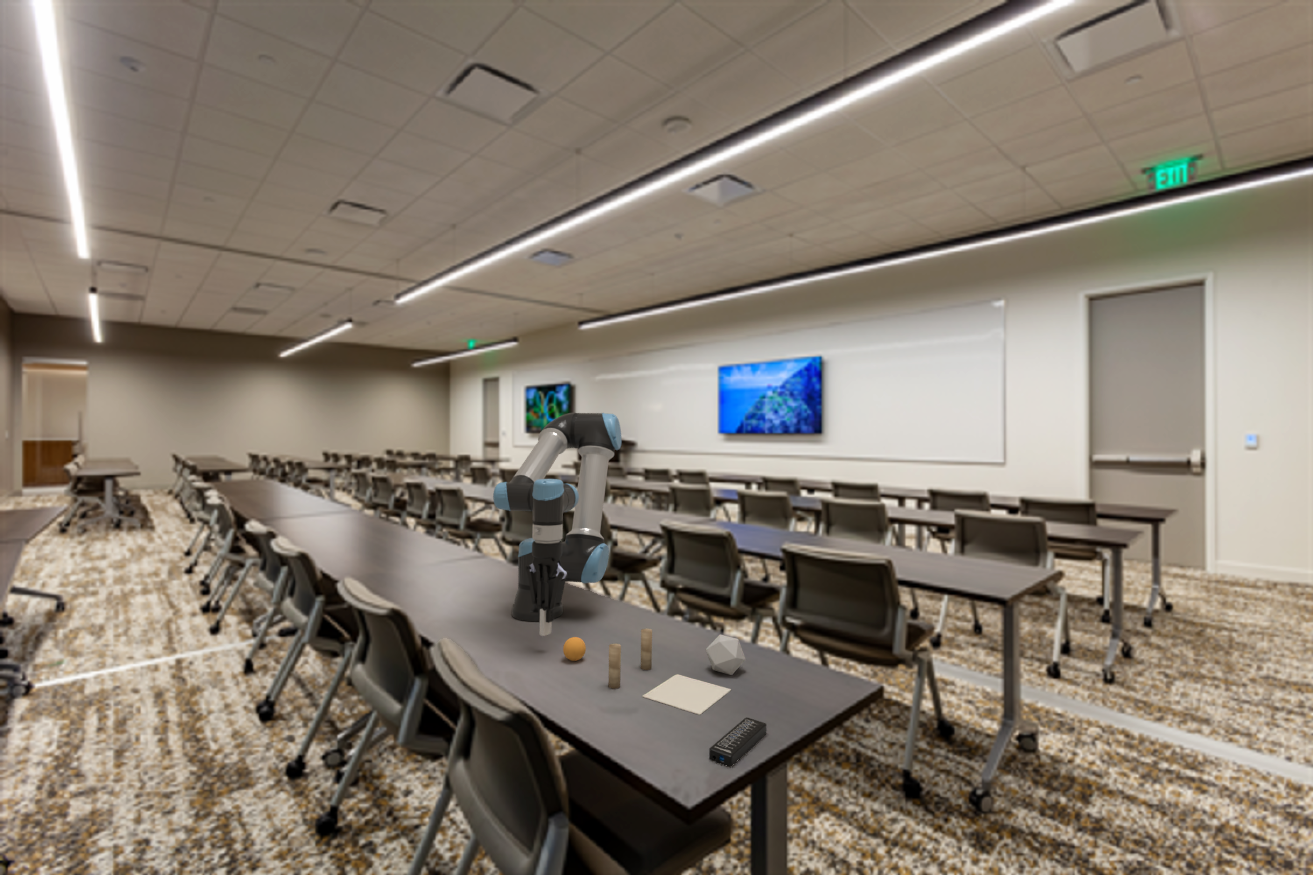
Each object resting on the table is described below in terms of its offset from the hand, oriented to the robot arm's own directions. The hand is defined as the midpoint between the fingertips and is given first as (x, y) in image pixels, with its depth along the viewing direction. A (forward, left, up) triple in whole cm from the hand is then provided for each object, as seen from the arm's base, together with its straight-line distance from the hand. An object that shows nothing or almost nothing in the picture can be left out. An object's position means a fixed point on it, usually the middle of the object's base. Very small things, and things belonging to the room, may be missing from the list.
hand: (545, 634), depth 153 cm
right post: (-7, +26, -5) cm, 28 cm away
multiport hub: (+13, +60, -5) cm, 61 cm away
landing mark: (0, +41, -5) cm, 42 cm away
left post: (+6, +26, -5) cm, 27 cm away
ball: (0, +9, -2) cm, 10 cm away
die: (-16, +42, -5) cm, 46 cm away
